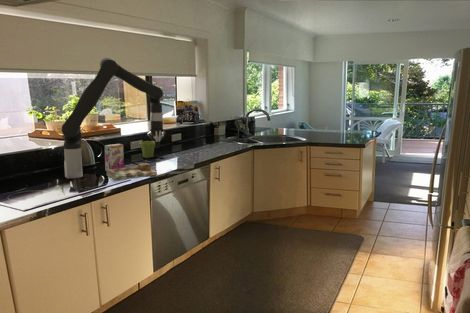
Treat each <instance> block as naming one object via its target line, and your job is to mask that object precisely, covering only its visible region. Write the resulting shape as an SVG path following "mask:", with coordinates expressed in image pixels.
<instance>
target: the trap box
mask: <svg viewBox="0 0 470 313" xmlns="http://www.w3.org/2000/svg"><path fill="white" fill-rule="evenodd" d="M106 169H107V171H106V176H107V177H109V178H110V179H111V178H112V179H111V180H113V181H121V180H128V179H134V178H136V179H137V178H143V177H151V176H157V175H158V174H157V171H156V170H154V169H152V168H151V170H146V171H141V170H138V165H137V166H128V167H124V168H119V169H109V168H106Z"/></svg>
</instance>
